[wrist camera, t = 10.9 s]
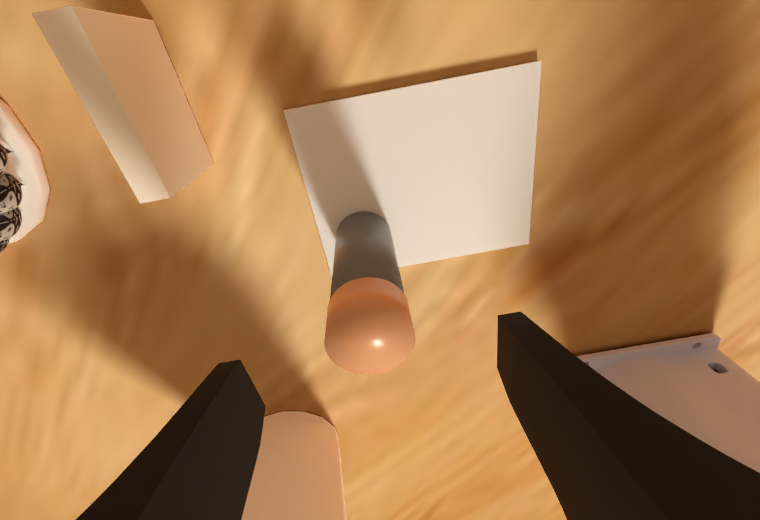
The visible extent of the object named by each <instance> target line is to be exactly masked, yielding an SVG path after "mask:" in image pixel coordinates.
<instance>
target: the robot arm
mask: <svg viewBox="0 0 760 520" xmlns="http://www.w3.org/2000/svg"><path fill="white" fill-rule="evenodd" d="M720 340H721V339H720V337H719V336H717V335H716V334H714V333H709V334H703V335H697V336H691V337H685V338H680V339H674V340H668V341H662V342H656V343H650V344H644V345H639V346H633V347H627V348H621V349H615V350H609V351H603V352H597V353H592V354H586V355H580V356H575V355H574V354H573V353H571V352H570V351H569V350H568V349H566V348H565V347H564V346H562V345H561V344H560V343H559V342H557V341H556V340H555V339H554V338H552V337H551V336H550V335H549V334H548V333H546V332H545V331H544V330H543V329H541V328H540V327H539V326H538V325H537V324H535V323H534V322H533V321H532V320H530V319H529V318H528V317H527V316H526V315H524V314H523V313H522V312H516V313H510V314H504V315H498V348H497V368H498V371H499V374H500V376H501V379H502V382H503V385H504V387H505V390H506V393H507V395H508V398H509V400H510V403H511V405H512V407H513V409H514V411H515V413H516V415H517V417H518V419H519V421H520V423H521V425H522V427H523V429H524V431H525V433H526V435H527V437H528V439H529V441H530V443H531V445H532V447H533V449H534V451H535V453H536V455H537V457H538V459H539V461H540V463H541V465H542V467H543V469H544V471H545V473H546V475H547V477H548V479H549V481H550V483H551V485H552V487H553V489H554V491H555V493H556V495H557V497H558V500H559V502H560V504H561V506H562V508H563V511H564V513H565V515H566V518H567V520H760V382H759V381H757V380H756V379H755V378H754V377H752V376H751V375H750V374H749V373H747V372H746V371H745V370H744V369H742V368H741V367H740V366H739V365H737V364H736V363H735V362H734V361H732V360H731V359H730V358H729V357H727V356H726V355H725V354H724V353H722V352H721V351H720V350H719V349H717V347H718V345H719V343H720ZM264 413H265V404H264V403H263V401H262V399H261V397H260V395H259V393H258V392H257V390H256V388H255V386H254V384H253V382H252V380H251V379H250V377H249V375H248V373H247V371H246V369H245V368H244V366H243V364H242V362H241V360H236V361H230V362H224V363H219V364H218V365H217V366H216V367H215V368H214V369H213V370H212V372H211V373H210V374H209V375H208V376H207V377H206V378H205V380H204V381H203V382H202V383H201V384H200V385H199V387H198V388H197V389H196V390H195V391H194V392H193V394H192V395H191V396H190V397H189V398H188V400H187V401H186V402H185V403H184V404H183V405H182V407H181V408H180V409H179V410H178V411H177V412H176V414H175V415H174V416H173V417H172V418H171V419H170V420H169V422H168V423H167V424H166V425H165V426H164V427H163V428H162V430H161V431H160V432H159V433H158V434H157V435H156V437H155V438H154V439H153V440H152V441H151V442H150V443H149V444H148V445H147V446H146V447H145V449H144V450H143V451H142V452H141V453H140V454H139V455H138V456H137V457H136V458H135V459H134V460H133V462H132V463H131V464H130V465H129V466H128V467H127V468H126V469H125V470H124V471H123V472H122V473H121V475H120V476H119V477H118V478H117V479H116V480H115V481H114V482H113V483H112V484H111V485H110V486H109V487H108V488H107V489H106V490H105V491H104V492H103V493H102V494H101V495H100V496H99V497H98V498H97V499H96V500H95V501H94V502H93V503H92V504H91V505H90V506H89V507H88V508H87V509H86V510H85V511H84V512H83V513H82V514H81V515H80V516H79V517H78V518H77V519H76V520H241V519H242V515H243V511H244V507H245V503H246V499H247V496H248V492H249V488H250V484H251V480H252V476H253V472H254V468H255V464H256V460H257V456H258V452H259V448H260V443H261V436H262V430H263V422H264Z"/></svg>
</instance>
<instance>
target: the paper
mask: <svg viewBox="0 0 760 520" xmlns="http://www.w3.org/2000/svg"><path fill="white" fill-rule="evenodd" d="M541 62H542V61H534V62H529V63H524V64H518V65H513V66H508V67H503V68H498V69H493V70H487V71H482V72H477V73H472V74H467V75H462V76H457V77H451V78H446V79H441V80H436V81H431V82H426V83H421V84H415V85H410V86H405V87H400V88H395V89H390V90H385V91H379V92H374V93H369V94H364V95H359V96H354V97H348V98H343V99H338V100H333V101H328V102H323V103H318V104H312V105H307V106H302V107H297V108H292V109H287V110H284V115H285V118H286V122H287V125H288V128H289V132H290V135H291V139H292V142H293V146H294V149H295V152H296V156H297V159H298V163H299V166H300V169H301V173H302V176H303V180H304V183H305V187H306V190H307V193H308V197H309V200H310V204H311V207H312V210H313V214H314V217H315V221H316V224H317V227H318V231H319V234H320V238H321V241H322V245H323V248H324V251H325V255H326V258H327V262H328V265H329V268H330V272H331V275H332V274H333V263H334V253H335V242H336V232H337V228H338V226H339V224H340V223H341V221H342V220H343V219H344V218H345V217H347V216H348V215H350V214H352V213H355V212H359V211H368V212H373V213H375V214H378V215H379V216H381V217H382V218H383V219H384V220H385V221H386V222H387V224H388V225H389V228H390V231H391V236H392V240H393V245H394V249H395V254H396V258H397V263H398V267H403V266H409V265H414V264H420V263H425V262H431V261H437V260H442V259H448V258H453V257H459V256H464V255H470V254H475V253H481V252H487V251H492V250H498V249H503V248H509V247H514V246H520V245H525V244H529V237H530V222H531V207H532V193H533V178H534V164H535V149H536V135H537V120H538V106H539V91H540V77H541Z"/></svg>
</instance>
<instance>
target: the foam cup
mask: <svg viewBox="0 0 760 520" xmlns="http://www.w3.org/2000/svg"><path fill="white" fill-rule="evenodd" d="M241 520H346V510H345V499H344V489H343V478H342V468H341V458H340V447H339V444H338V436H337V432H336V429H335V427H334V426H333V425H332V424H330V423H329V422H328V421H327V420H325V419H324V418H323V417H320V416H317V415H314V414H310V413H307V412H304V411H282V412H278V413H275V414H271V415H268V416H265V417H264V422H263V430H262V436H261V443H260V448H259V452H258V456H257V460H256V464H255V468H254V472H253V476H252V480H251V484H250V488H249V492H248V496H247V499H246V503H245V507H244V511H243V515H242V519H241Z"/></svg>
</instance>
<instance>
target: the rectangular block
mask: <svg viewBox="0 0 760 520" xmlns="http://www.w3.org/2000/svg"><path fill="white" fill-rule="evenodd" d="M32 15H33V17H34V19H35V20H36V22H37V24H38V26H39V27H40V29H41V31H42V33H43V34H44V36H45V38H46V40H47V41H48V43H49V45H50V47H51V48H52V50H53V52H54V54H55V55H56V57H57V59H58V61H59V62H60V64H61V66H62V68H63V69H64V71H65V73H66V75H67V76H68V78H69V80H70V82H71V83H72V85H73V87H74V89H75V90H76V92H77V94H78V96H79V97H80V99H81V101H82V103H83V104H84V106H85V108H86V110H87V111H88V113H89V115H90V117H91V118H92V120H93V122H94V124H95V125H96V127H97V129H98V131H99V132H100V134H101V136H102V138H103V139H104V141H105V143H106V145H107V146H108V148H109V150H110V152H111V153H112V155H113V157H114V159H115V160H116V162H117V164H118V166H119V167H120V169H121V171H122V173H123V174H124V176H125V178H126V180H127V181H128V183H129V185H130V187H131V188H132V190H133V192H134V194H135V195H136V197H137V199H138V201H139V202H140V204H141V203H146V202H152V201H157V200H162V199H168V198H171V197H172V196H174V195H175V194H176V193H178V192H179V191H180V190H181V189H183V188H184V187H185V186H187V185H188V184H189V183H190V182H192V181H193V180H194V179H196V178H197V177H198V176H199V175H201V174H202V173H203V172H205V171H206V170H207V169H208V168H210V167H211V166H212V165H214V162H213V160H212V158H211V155H210V153H209V150H208V148H207V146H206V143H205V141H204V139H203V136H202V134H201V132H200V129H199V127H198V124H197V122H196V120H195V117H194V115H193V113H192V110H191V108H190V106H189V103H188V101H187V98H186V96H185V94H184V91H183V89H182V87H181V84H180V82H179V79H178V77H177V75H176V72H175V70H174V68H173V65H172V63H171V61H170V58H169V56H168V53H167V51H166V49H165V46H164V44H163V42H162V39H161V37H160V35H159V32H158V30H157V27H156V25H155V23H154V20H149V19H144V18H138V17H133V16H127V15H122V14H116V13H111V12H105V11H100V10H94V9H89V8H83V7H78V6H72V5H70V6H65V7H60V8H55V9H51V10H46V11H41V12H36V13H32Z"/></svg>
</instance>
